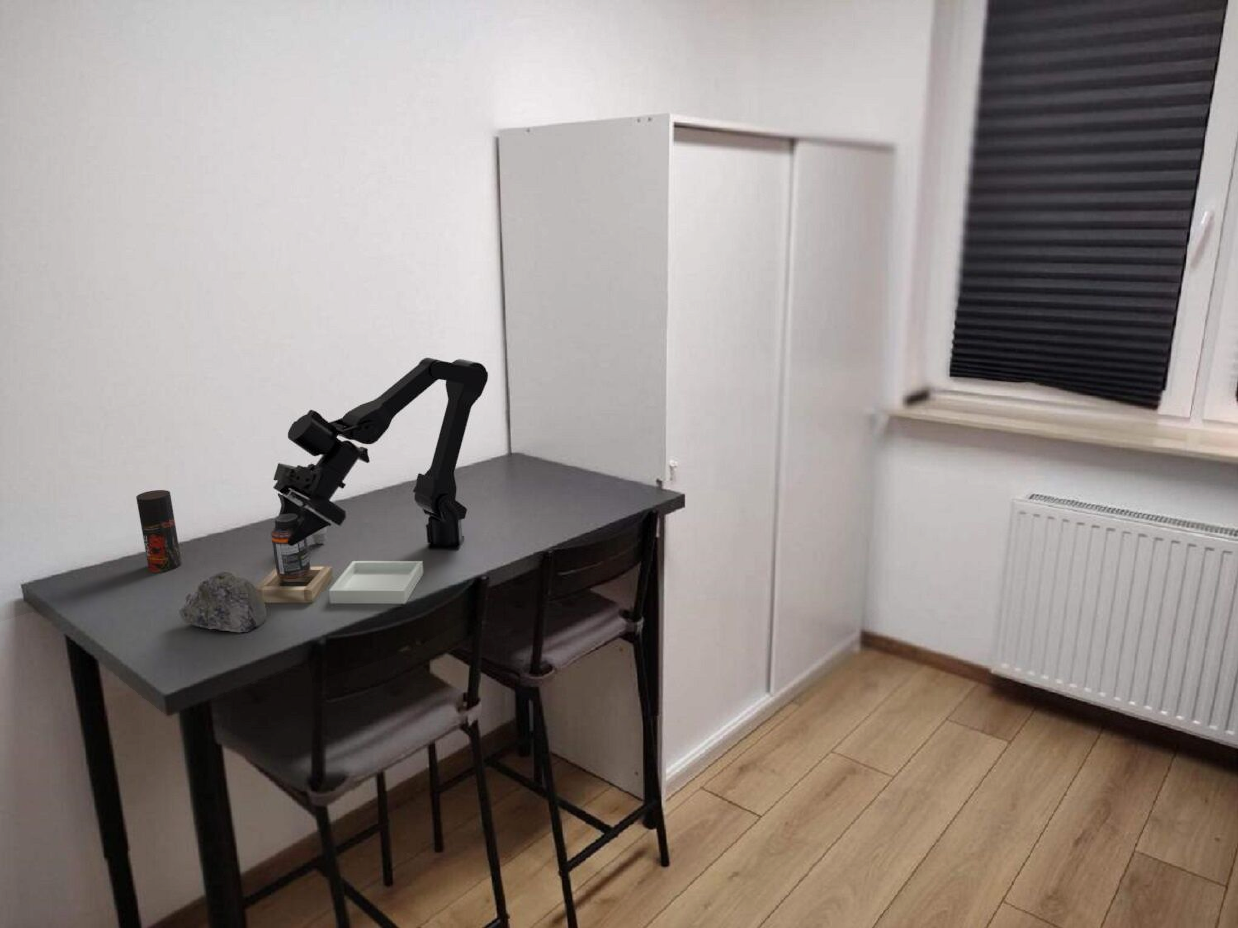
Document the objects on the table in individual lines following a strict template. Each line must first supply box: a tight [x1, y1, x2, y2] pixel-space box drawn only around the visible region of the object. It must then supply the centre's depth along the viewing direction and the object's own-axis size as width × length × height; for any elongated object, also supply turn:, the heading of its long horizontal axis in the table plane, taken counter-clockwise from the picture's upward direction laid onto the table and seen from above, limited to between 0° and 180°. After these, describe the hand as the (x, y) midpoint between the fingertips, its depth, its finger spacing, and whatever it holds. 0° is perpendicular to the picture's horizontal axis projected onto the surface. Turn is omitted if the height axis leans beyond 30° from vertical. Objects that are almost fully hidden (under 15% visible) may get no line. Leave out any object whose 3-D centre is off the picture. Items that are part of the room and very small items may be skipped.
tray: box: [328, 560, 424, 605], centre depth 166 cm, size 14×14×2 cm
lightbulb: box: [305, 505, 327, 545], centre depth 187 cm, size 6×6×11 cm
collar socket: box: [255, 566, 334, 604], centre depth 166 cm, size 11×11×2 cm
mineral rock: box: [179, 571, 267, 633], centre depth 152 cm, size 13×11×10 cm
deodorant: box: [135, 489, 182, 573], centre depth 176 cm, size 6×6×15 cm
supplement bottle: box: [270, 514, 311, 579], centre depth 164 cm, size 6×6×11 cm
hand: (282, 540), depth 162 cm, fingers closed on supplement bottle, 6 cm apart
